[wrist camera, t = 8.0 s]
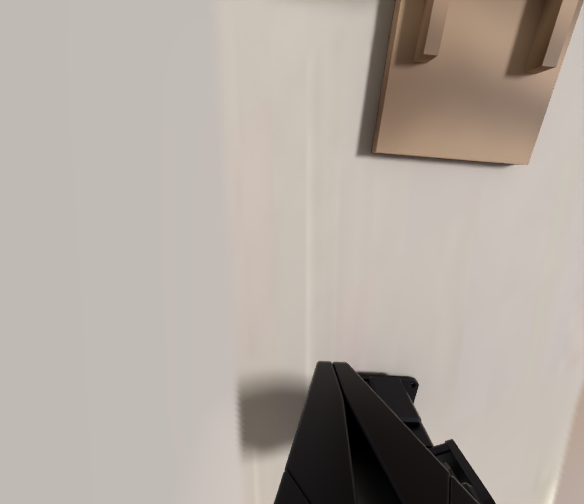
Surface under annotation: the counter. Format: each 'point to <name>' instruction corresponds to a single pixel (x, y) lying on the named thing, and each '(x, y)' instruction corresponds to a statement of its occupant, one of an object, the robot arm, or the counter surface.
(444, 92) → the mount
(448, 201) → the counter surface
